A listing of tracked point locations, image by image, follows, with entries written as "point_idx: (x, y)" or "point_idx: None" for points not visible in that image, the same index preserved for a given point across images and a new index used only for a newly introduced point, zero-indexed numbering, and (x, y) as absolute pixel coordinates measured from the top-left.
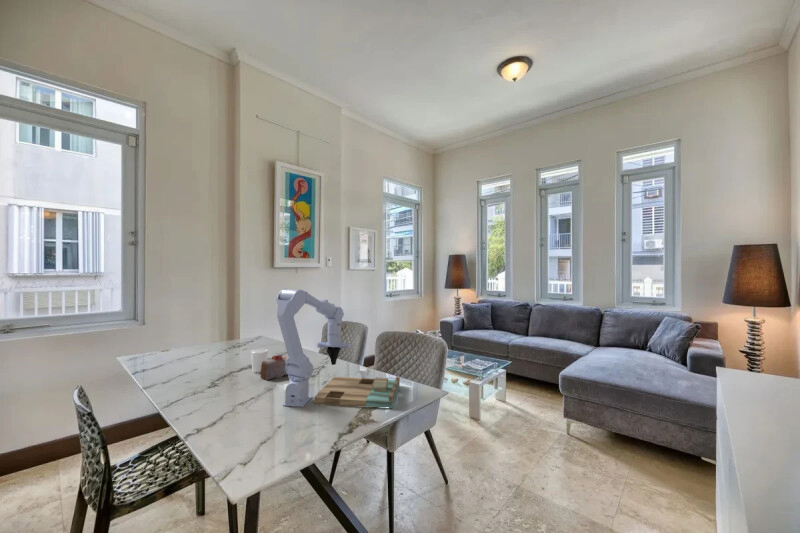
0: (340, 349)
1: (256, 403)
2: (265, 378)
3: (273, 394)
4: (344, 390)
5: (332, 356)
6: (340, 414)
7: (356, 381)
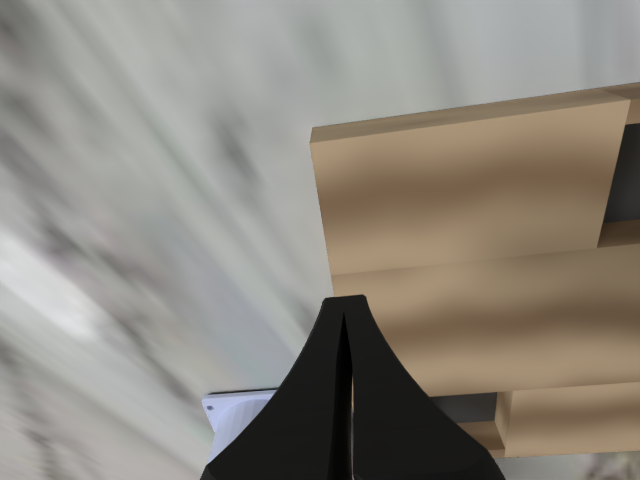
0: (483, 458)
1: (110, 467)
2: None
3: (85, 395)
4: (504, 373)
5: (349, 451)
6: (517, 475)
7: (573, 206)
